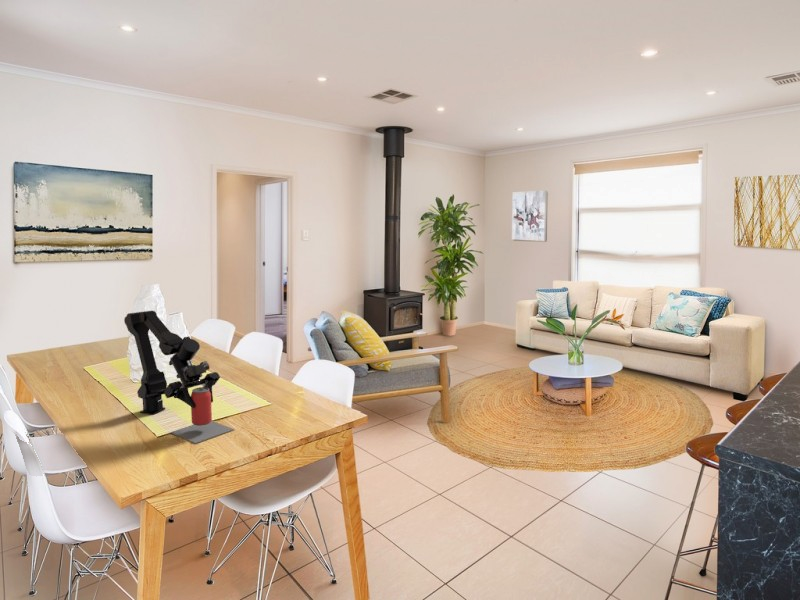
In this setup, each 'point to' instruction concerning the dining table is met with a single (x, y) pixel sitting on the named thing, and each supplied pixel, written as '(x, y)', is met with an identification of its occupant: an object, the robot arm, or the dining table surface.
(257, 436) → the dining table surface
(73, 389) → the dining table surface
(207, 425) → the mat
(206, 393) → the beer can
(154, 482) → the dining table surface
